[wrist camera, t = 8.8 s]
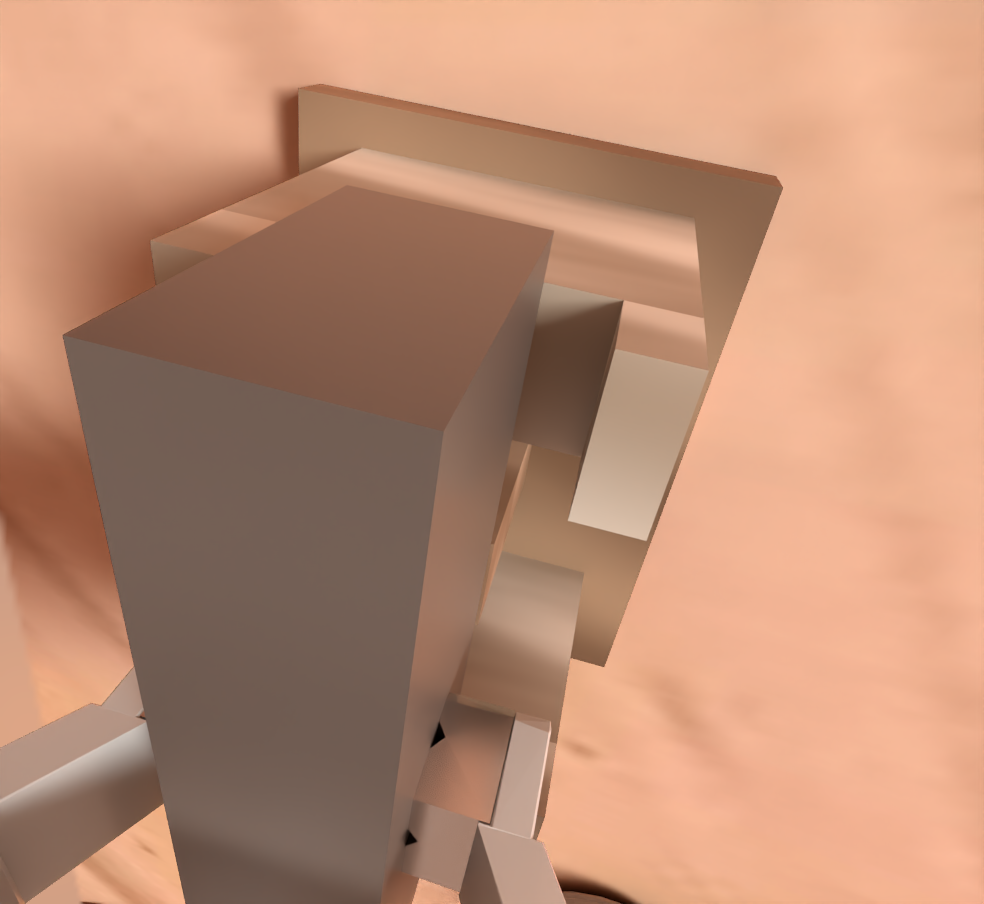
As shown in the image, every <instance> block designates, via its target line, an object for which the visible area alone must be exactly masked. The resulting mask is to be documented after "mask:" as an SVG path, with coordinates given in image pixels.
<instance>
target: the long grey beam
mask: <svg viewBox="0 0 984 904" xmlns="http://www.w3.org/2000/svg"><path fill="white" fill-rule="evenodd" d="M553 234H554V230H550V229H545V228H540V227H536V226H531V225H527V224H522V223H518V222H513V221H509V220H504V219H499V218H495V217H490V216H486V215H481V214H477V213H472V212H468V211H463V210H459V209H454V208H449V207H445V206H440V205H436V204H431V203H427V202H422V201H418V200H413V199H409V198H404V197H399V196H395V195H390V194H386V193H381V192H377V191H372V190H368V189H363V188H358V187H354V186H349V185H346V186H344V187H342V188H340V189H339V190H337V191H335V192H333V193H331V194H329V195H327V196H325V197H323V198H322V199H320V200H318V201H316V202H314V203H312V204H310V205H308V206H306V207H304V208H303V209H301V210H299V211H297V212H295V213H293V214H291V215H289V216H287V217H286V218H284V219H282V220H280V221H278V222H276V223H274V224H272V225H270V226H268V227H267V228H265V229H263V230H261V231H259V232H257V233H255V234H253V235H251V236H249V237H248V238H246V239H244V240H242V241H240V242H238V243H236V244H234V245H232V246H231V247H229V248H227V249H225V250H223V251H221V252H219V253H217V254H215V255H213V256H212V257H210V258H208V259H206V260H204V261H202V262H200V263H198V264H196V265H195V266H193V267H191V268H189V269H187V270H185V271H183V272H181V273H179V274H177V275H176V276H174V277H172V278H170V279H168V280H166V281H164V282H162V283H160V284H158V285H157V286H155V287H153V288H151V289H149V290H147V291H145V292H143V293H141V294H140V295H138V296H136V297H134V298H132V299H130V300H128V301H126V302H124V303H122V304H121V305H119V306H117V307H115V308H113V309H111V310H109V311H107V312H105V313H104V314H102V315H100V316H98V317H96V318H94V319H92V320H90V321H88V322H86V323H85V324H83V325H81V326H79V327H77V328H75V329H73V330H71V331H69V332H67V333H66V334H64V335H63V339H64V344H65V348H66V353H67V358H68V362H69V367H70V372H71V376H72V381H73V385H74V390H75V395H76V399H77V404H78V409H79V413H80V418H81V422H82V427H83V432H84V436H85V441H86V446H87V450H88V455H89V459H90V464H91V469H92V473H93V478H94V482H95V487H96V492H97V496H98V501H99V506H100V510H101V515H102V519H103V524H104V529H105V533H106V538H107V543H108V547H109V552H110V556H111V561H112V566H113V570H114V575H115V580H116V584H117V589H118V593H119V598H120V603H121V607H122V612H123V617H124V621H125V626H126V630H127V635H128V640H129V644H130V649H131V654H132V658H133V663H134V667H135V672H136V677H137V681H138V686H139V691H140V695H141V700H142V704H143V709H144V714H145V718H146V723H147V728H148V732H149V737H150V741H151V746H152V751H153V755H154V760H155V765H156V769H157V774H158V778H159V783H160V788H161V792H162V797H163V801H164V806H165V811H166V815H167V820H168V825H169V829H170V834H171V838H172V843H173V848H174V852H175V857H176V862H177V866H178V871H179V875H180V880H181V885H182V889H183V894H184V899H185V903H186V904H412V901H413V897H414V894H415V891H416V887H417V884H418V880H419V878H418V877H415V876H412V875H409V874H407V873H404V872H401V869H402V863H403V857H404V850H405V845H406V842H407V839H408V836H409V833H410V831H409V830H408V826H409V820H410V813H411V807H412V801H413V797H414V794H415V791H416V788H417V785H418V782H419V779H420V776H421V773H422V770H423V767H424V764H425V761H426V758H427V755H428V752H429V749H430V748H431V747H433V746H434V745H435V740H436V734H437V729H438V723H439V719H440V716H441V713H442V710H443V707H444V704H445V701H446V699H447V696H448V694H449V692H450V693H454V694H457V695H460V694H461V689H462V684H463V679H464V674H465V670H466V665H467V660H468V655H469V650H470V645H471V640H472V635H473V630H474V625H475V620H476V615H477V610H478V605H479V600H480V595H481V590H482V585H483V580H484V575H485V571H486V566H487V561H488V556H489V551H490V546H491V541H492V536H493V531H494V526H495V521H496V516H497V511H498V506H499V501H500V496H501V491H502V486H503V481H504V477H505V472H506V467H507V462H508V457H509V452H510V447H511V442H512V437H513V432H514V427H515V422H516V417H517V412H518V407H519V402H520V397H521V392H522V387H523V383H524V378H525V373H526V368H527V363H528V358H529V353H530V348H531V343H532V338H533V333H534V328H535V323H536V318H537V313H538V308H539V303H540V298H541V293H542V289H543V284H544V279H545V274H546V269H547V264H548V259H549V254H550V249H551V244H552V239H553Z"/></svg>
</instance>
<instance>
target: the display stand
mask: <svg viewBox="0 0 984 904" xmlns="http://www.w3.org/2000/svg"><path fill="white" fill-rule="evenodd" d="M298 113H299V176H297V177H294V178H292V179H290V180H287V181H285V182H283V183H281V184H278V185H276V186H274V187H271V188H269V189H267V190H264V191H262V192H260V193H258V194H255V195H253V196H251V197H248V198H246V199H244V200H241V201H239V202H237V203H235V204H232V205H230V206H228V207H225V208H223V209H221V210H218V211H216V212H214V213H212V214H209V215H207V216H205V217H202V218H200V219H198V220H195V221H193V222H191V223H189V224H186V225H184V226H182V227H179V228H177V229H175V230H172V231H170V232H168V233H166V234H163V235H161V236H159V237H156V238H154V239H152V240H150V245H151V253H152V260H153V268H154V276H155V283H156V286H157V285H158V284H160V283H162V282H164V281H166V280H168V279H170V278H172V277H174V276H176V275H177V274H179V273H181V272H183V271H185V270H187V269H189V268H191V267H193V266H195V265H196V264H198V263H200V262H202V261H204V260H206V259H208V258H210V257H212V256H213V255H215V254H217V253H219V252H221V251H223V250H225V249H227V248H229V247H231V246H232V245H234V244H236V243H238V242H240V241H242V240H244V239H246V238H248V237H249V236H251V235H253V234H255V233H257V232H259V231H261V230H263V229H265V228H267V227H268V226H270V225H272V224H274V223H276V222H278V221H280V220H282V219H284V218H286V217H287V216H289V215H291V214H293V213H295V212H297V211H299V210H301V209H303V208H304V207H306V206H308V205H310V204H312V203H314V202H316V201H318V200H320V199H322V198H323V197H325V196H327V195H329V194H331V193H333V192H335V191H337V190H339V189H340V188H342V187H344V186H346V185H349V186H354V187H358V188H363V189H368V190H372V191H377V192H381V193H386V194H390V195H395V196H399V197H404V198H409V199H413V200H418V201H422V202H427V203H431V204H436V205H440V206H445V207H449V208H454V209H459V210H463V211H468V212H472V213H477V214H481V215H486V216H490V217H495V218H499V219H504V220H509V221H513V222H518V223H522V224H527V225H531V226H536V227H540V228H545V229H550V230H554V234H553V239H552V244H551V249H550V254H549V259H548V264H547V269H546V274H545V279H544V284H543V289H542V293H541V298H540V303H539V308H538V313H537V318H536V323H535V328H534V333H533V338H532V343H531V348H530V353H529V358H528V363H527V368H526V373H525V378H524V383H523V387H522V392H521V397H520V402H519V407H518V412H517V417H516V422H515V427H514V432H513V437H512V442H511V447H510V452H509V457H508V462H507V467H506V472H505V477H504V481H503V486H502V491H501V496H500V501H499V506H498V511H497V516H496V521H495V526H494V531H493V536H492V541H491V546H490V551H489V556H488V561H487V566H486V571H485V575H484V580H483V585H482V590H481V595H480V600H479V605H478V610H477V615H476V620H475V625H474V630H473V635H472V640H471V645H470V650H469V655H468V660H467V665H466V670H465V674H464V679H463V684H462V689H461V694H460V695H461V696H465V697H469V698H472V699H476V700H480V701H483V702H487V703H491V704H494V705H498V706H502V707H505V708H509V709H513V710H515V713H516V712H518V713H522V714H526V715H530V716H533V717H537V718H541V719H545V720H548V721H551V735H550V741H549V747H548V752H547V758H546V764H545V770H544V776H543V782H542V788H541V794H540V800H539V806H538V811H537V817H536V823H535V829H534V835H533V839H535V840H537V837H538V834H539V831H540V829H541V826H542V823H543V821H544V818H545V812H546V806H547V800H548V794H549V788H550V781H551V775H552V769H553V763H554V757H555V750H556V744H557V738H558V732H559V726H560V719H561V713H562V707H563V701H564V695H565V688H566V682H567V676H568V670H569V664H570V658H573V659H577V660H580V661H584V662H587V663H591V664H595V665H598V666H602V667H604V666H605V664H606V661H607V658H608V655H609V653H610V650H611V647H612V645H613V642H614V639H615V637H616V634H617V631H618V629H619V626H620V623H621V621H622V618H623V615H624V613H625V610H626V607H627V605H628V602H629V599H630V597H631V594H632V591H633V588H634V586H635V583H636V580H637V578H638V575H639V572H640V570H641V567H642V564H643V562H644V559H645V556H646V554H647V551H648V548H649V546H650V543H651V540H652V538H653V535H654V532H655V530H656V527H657V524H658V521H659V519H660V516H661V513H662V511H663V508H664V505H665V503H666V500H667V497H668V495H669V492H670V489H671V487H672V484H673V481H674V479H675V476H676V473H677V471H678V468H679V465H680V463H681V460H682V457H683V454H684V452H685V449H686V446H687V444H688V441H689V438H690V436H691V433H692V430H693V428H694V425H695V422H696V420H697V417H698V414H699V412H700V409H701V406H702V404H703V401H704V398H705V396H706V393H707V390H708V388H709V385H710V382H711V379H712V377H713V374H714V371H715V369H716V366H717V363H718V361H719V358H720V355H721V353H722V350H723V347H724V345H725V342H726V339H727V337H728V334H729V331H730V329H731V326H732V323H733V321H734V318H735V315H736V312H737V310H738V307H739V304H740V302H741V299H742V296H743V294H744V291H745V288H746V286H747V283H748V280H749V278H750V275H751V272H752V270H753V267H754V264H755V262H756V259H757V256H758V254H759V251H760V248H761V245H762V243H763V240H764V237H765V235H766V232H767V229H768V227H769V224H770V221H771V219H772V216H773V213H774V211H775V208H776V205H777V203H778V200H779V197H780V195H781V192H782V189H783V187H782V185H781V184H780V182H779V180H778V179H777V177H776V176H772V175H767V174H762V173H757V172H752V171H747V170H742V169H737V168H732V167H727V166H722V165H717V164H712V163H708V162H703V161H698V160H693V159H688V158H683V157H678V156H673V155H668V154H663V153H658V152H653V151H648V150H644V149H639V148H634V147H629V146H624V145H619V144H614V143H609V142H604V141H599V140H594V139H589V138H584V137H580V136H575V135H570V134H565V133H560V132H555V131H550V130H545V129H540V128H535V127H530V126H525V125H520V124H516V123H511V122H506V121H501V120H496V119H491V118H486V117H481V116H476V115H471V114H466V113H461V112H456V111H452V110H447V109H442V108H437V107H432V106H427V105H422V104H417V103H412V102H407V101H402V100H397V99H392V98H387V97H383V96H378V95H373V94H368V93H363V92H358V91H353V90H348V89H343V88H338V87H333V86H328V85H323V84H318V85H313V86H308V87H304V88H299V89H298Z"/></svg>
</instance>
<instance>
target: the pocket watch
mask: <svg viewBox="0 0 984 904" xmlns="http://www.w3.org/2000/svg"><path fill="white" fill-rule="evenodd" d="M562 893H563V896H564V899H565V901H566V904H621V903H618V902H615V901H613V900H610V899H607V898H604V897H601V896H596V895H590V894H585V893H579V892H573V891H566V892H562Z"/></svg>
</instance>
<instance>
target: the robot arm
mask: <svg viewBox="0 0 984 904" xmlns="http://www.w3.org/2000/svg"><path fill="white" fill-rule="evenodd" d="M550 735H551V721H548V720H545V719H541V718H537V717H533V716H530V715H526V714H522V713H518V712H516V713H515V710H513V709H509V708H505V707H502V706H498V705H494V704H491V703H487V702H483V701H480V700H476V699H472V698H469V697H465V696H461V695H457V694H454V693H450V692H449V694H448V696H447V699H446V701H445V704H444V707H443V710H442V713H441V716H440V719H439V723H438V729H437V734H436V740H435V745H434V746H433V747H431V748H430V749H429V752H428V755H427V758H426V761H425V764H424V767H423V770H422V773H421V776H420V779H419V782H418V785H417V788H416V791H415V794H414V797H413V801H412V807H411V813H410V820H409V826H408V830H409V831H410V833H409V836H408V839H407V842H406V845H405V850H404V857H403V863H402V869H401V872H404V873H407V874H409V875H412V876H415V877H418V878H421V879H424V880H426V881H429V882H432V883H435V884H438V885H441V886H444V887H446V888H449V889H452V890H455V891H458V892H460V894H459V898H460V902H461V904H566V901H565V899H564V896H563V893H562V891H561V888H560V885H559V883H558V880H557V877H556V874H555V872H554V869H553V866H552V864H551V861H550V858H549V856H548V853H547V850H546V848H545V845H544V843H543V842H540V841H538V840H535V839H533V835H534V829H535V823H536V817H537V811H538V806H539V800H540V794H541V788H542V782H543V776H544V770H545V764H546V758H547V752H548V747H549V741H550ZM163 803H164V801H163V797H162V792H161V788H160V783H159V778H158V774H157V769H156V765H155V760H154V755H153V751H152V746H151V741H150V737H149V732H148V728H147V723H146V718H145V714H144V709H143V704H142V700H141V695H140V691H139V686H138V681H137V677H136V672H135V667H133V668H132V669H131V670H130V671H129V673H128V674H127V675H126V676H125V678H124V679H123V680H122V681H121V682H120V684H119V685H118V686H117V687H116V688H115V690H114V691H113V692H112V693H111V694H110V696H109V697H108V698H107V699H106V700H105V702H104V703H103V704H102V705H97V704H93V703H90V704H88V705H86V706H84V707H82V708H80V709H78V710H76V711H74V712H72V713H70V714H68V715H66V716H64V717H62V718H60V719H58V720H56V721H54V722H52V723H50V724H48V725H46V726H44V727H42V728H40V729H38V730H36V731H33V732H31V733H29V734H27V735H25V736H23V737H21V738H19V739H17V740H15V741H13V742H11V743H9V744H7V745H5V746H3V747H1V748H0V904H25V903H26V902H28V901H29V900H31V899H32V898H33V897H35V896H36V895H37V894H39V893H40V892H42V891H43V890H44V889H46V888H47V887H49V886H50V885H51V884H53V883H54V882H56V881H57V880H58V879H60V878H61V877H62V876H64V875H65V874H67V873H68V872H69V871H71V870H72V869H73V868H75V867H76V866H78V865H79V864H80V863H82V862H83V861H85V860H86V859H87V858H89V857H90V856H91V855H93V854H94V853H96V852H97V851H98V850H100V849H101V848H103V847H104V846H105V845H107V844H108V843H109V842H111V841H112V840H114V839H115V838H116V837H118V836H119V835H121V834H122V833H123V832H125V831H126V830H127V829H129V828H130V827H132V826H133V825H134V824H136V823H137V822H139V821H140V820H141V819H143V818H144V817H145V816H147V815H148V814H150V813H151V812H152V811H154V810H155V809H156V808H158V807H159V806H161V805H162V804H163Z"/></svg>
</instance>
